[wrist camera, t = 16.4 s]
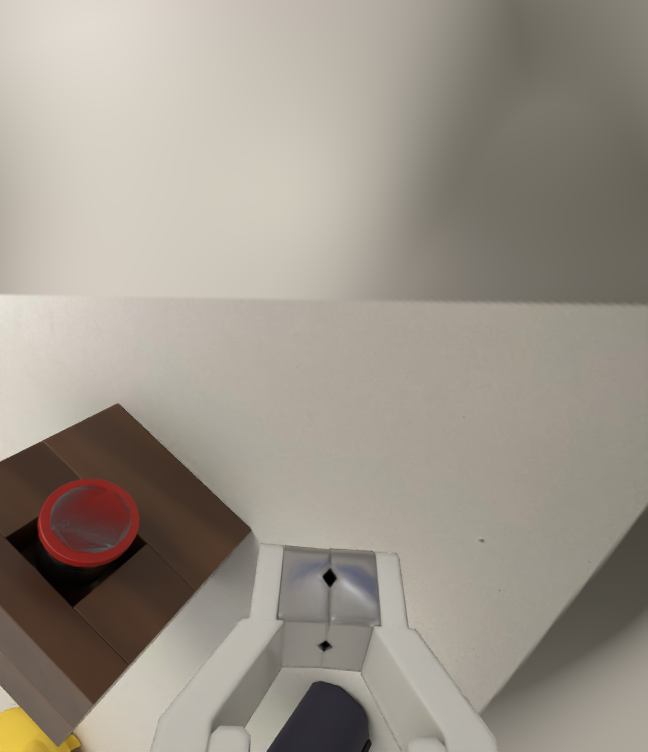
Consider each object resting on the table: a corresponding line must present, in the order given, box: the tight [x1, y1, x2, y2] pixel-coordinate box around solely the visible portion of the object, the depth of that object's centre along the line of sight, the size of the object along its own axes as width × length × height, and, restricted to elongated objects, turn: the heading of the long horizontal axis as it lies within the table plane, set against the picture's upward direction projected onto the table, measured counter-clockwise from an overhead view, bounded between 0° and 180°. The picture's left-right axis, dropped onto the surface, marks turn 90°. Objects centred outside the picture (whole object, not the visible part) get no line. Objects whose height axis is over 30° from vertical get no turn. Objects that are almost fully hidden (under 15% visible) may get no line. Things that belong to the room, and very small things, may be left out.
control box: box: [0, 404, 251, 747], centre depth 32 cm, size 8×14×14 cm, turn 56°
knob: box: [34, 479, 140, 588], centre depth 28 cm, size 4×5×5 cm
